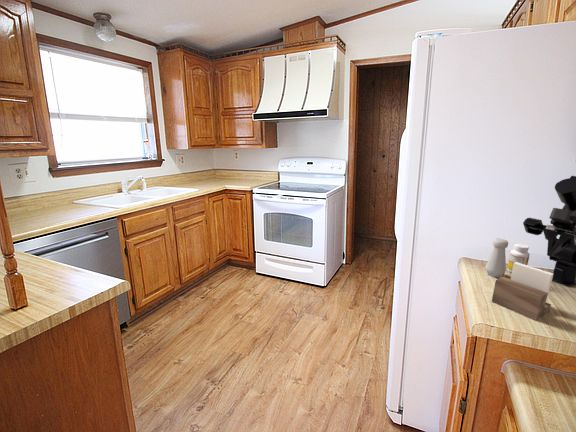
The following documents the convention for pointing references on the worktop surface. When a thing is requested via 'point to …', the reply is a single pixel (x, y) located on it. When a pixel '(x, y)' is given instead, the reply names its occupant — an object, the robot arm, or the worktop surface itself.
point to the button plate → (532, 277)
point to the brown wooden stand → (520, 298)
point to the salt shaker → (497, 259)
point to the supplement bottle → (518, 255)
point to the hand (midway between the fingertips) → (548, 255)
